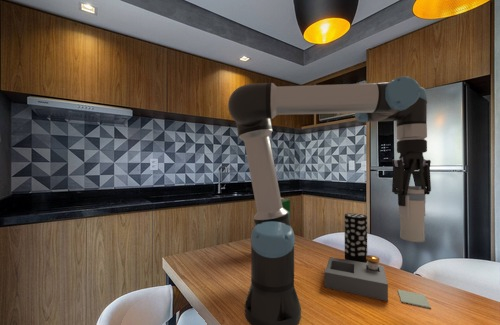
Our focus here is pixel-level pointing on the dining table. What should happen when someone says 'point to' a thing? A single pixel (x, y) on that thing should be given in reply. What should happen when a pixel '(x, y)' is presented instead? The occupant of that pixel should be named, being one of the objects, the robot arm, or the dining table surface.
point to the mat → (413, 298)
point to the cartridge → (414, 216)
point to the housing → (356, 278)
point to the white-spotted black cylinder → (356, 237)
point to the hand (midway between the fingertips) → (412, 215)
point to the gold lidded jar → (372, 262)
